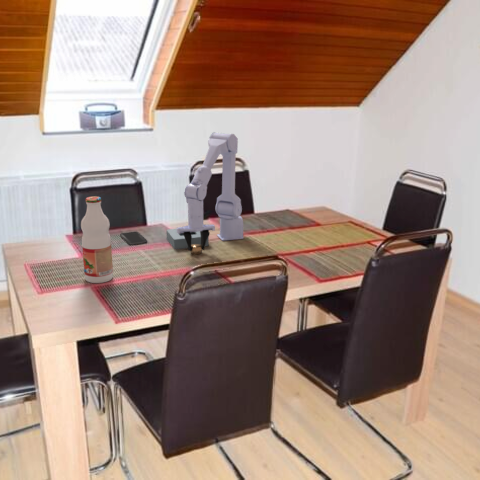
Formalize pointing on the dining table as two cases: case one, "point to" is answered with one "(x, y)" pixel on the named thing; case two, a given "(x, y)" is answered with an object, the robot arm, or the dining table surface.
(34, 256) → the dining table surface
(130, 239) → the phone
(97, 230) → the fruit juice
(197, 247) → the disc
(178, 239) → the box
